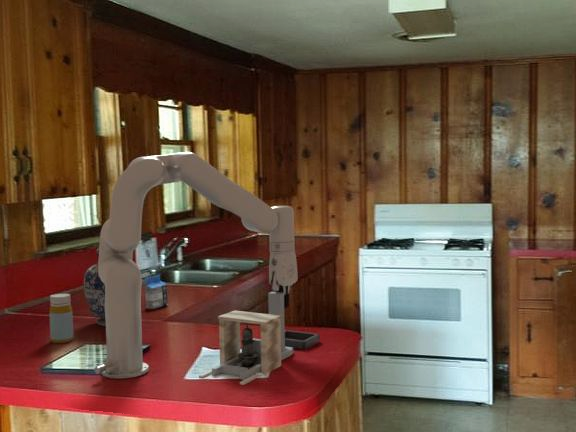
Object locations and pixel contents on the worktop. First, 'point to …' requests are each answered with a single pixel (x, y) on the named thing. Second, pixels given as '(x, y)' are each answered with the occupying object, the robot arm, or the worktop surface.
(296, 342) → the dark grey flat tray
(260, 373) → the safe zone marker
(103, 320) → the decorative vase
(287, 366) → the worktop surface
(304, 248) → the worktop surface
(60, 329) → the bottle
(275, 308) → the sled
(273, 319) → the tunnel
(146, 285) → the label tape box
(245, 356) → the dark grey upright piece
